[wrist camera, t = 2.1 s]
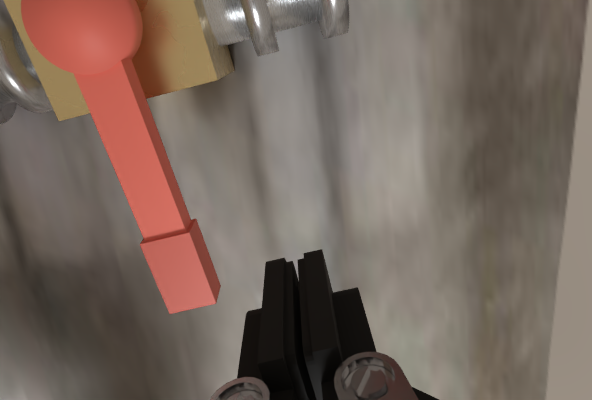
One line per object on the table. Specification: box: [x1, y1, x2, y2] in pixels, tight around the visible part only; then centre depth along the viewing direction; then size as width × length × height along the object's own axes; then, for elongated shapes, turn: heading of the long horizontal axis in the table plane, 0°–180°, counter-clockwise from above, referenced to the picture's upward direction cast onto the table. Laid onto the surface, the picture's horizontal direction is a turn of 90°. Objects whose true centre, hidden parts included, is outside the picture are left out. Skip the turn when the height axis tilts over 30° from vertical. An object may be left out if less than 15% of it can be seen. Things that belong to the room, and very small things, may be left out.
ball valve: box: [0, 0, 349, 124], centre depth 21 cm, size 7×22×9 cm, turn 104°
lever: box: [21, 0, 221, 314], centre depth 18 cm, size 16×4×2 cm, turn 14°
